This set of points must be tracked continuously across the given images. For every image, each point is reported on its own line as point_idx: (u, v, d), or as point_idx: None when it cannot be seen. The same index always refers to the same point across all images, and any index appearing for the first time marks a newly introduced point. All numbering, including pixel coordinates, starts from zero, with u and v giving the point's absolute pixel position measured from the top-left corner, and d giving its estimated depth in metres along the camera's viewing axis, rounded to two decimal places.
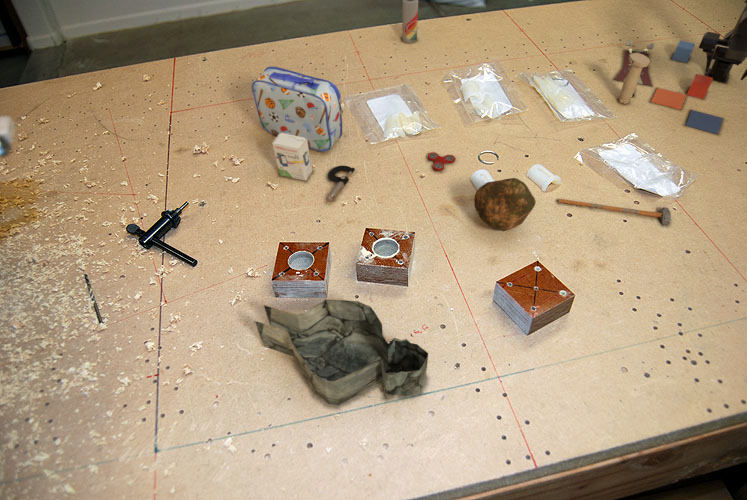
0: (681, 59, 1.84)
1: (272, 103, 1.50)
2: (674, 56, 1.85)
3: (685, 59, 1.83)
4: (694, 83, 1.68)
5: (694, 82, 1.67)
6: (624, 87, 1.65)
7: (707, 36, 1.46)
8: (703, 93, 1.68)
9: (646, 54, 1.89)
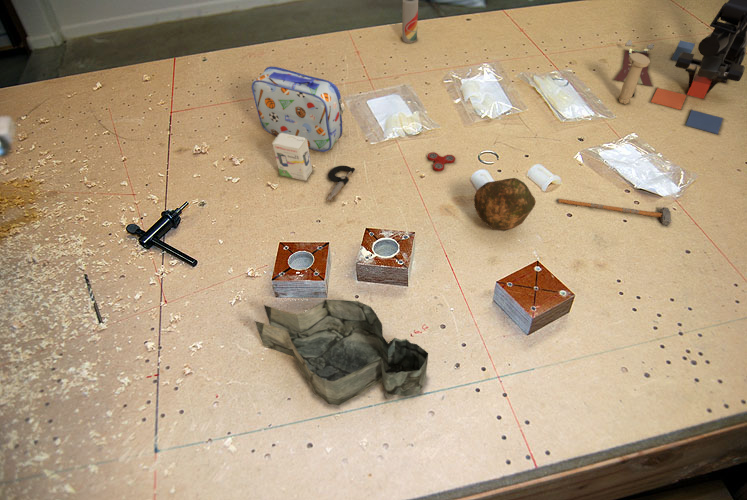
0: None
1: (272, 103, 1.50)
2: (674, 56, 1.85)
3: None
4: (694, 83, 1.68)
5: (694, 82, 1.67)
6: (624, 87, 1.65)
7: (682, 56, 1.66)
8: (703, 93, 1.68)
9: (646, 54, 1.89)
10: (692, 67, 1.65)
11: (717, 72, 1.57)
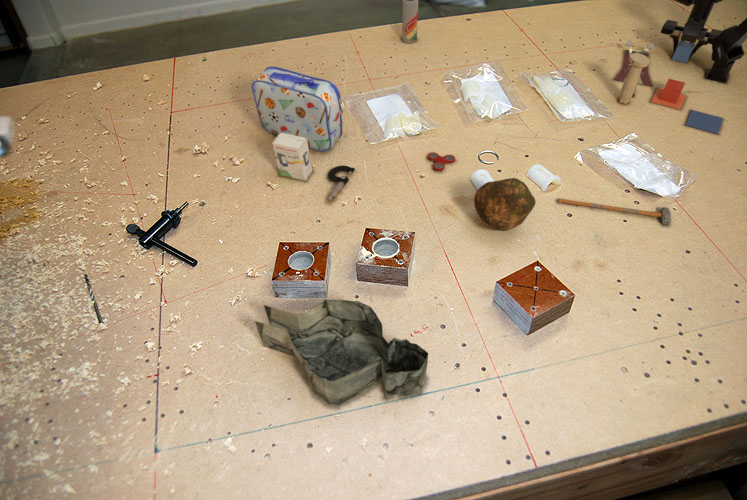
0: (681, 59, 1.84)
1: (272, 103, 1.50)
2: (674, 56, 1.85)
3: (685, 59, 1.83)
4: (666, 88, 1.65)
5: (666, 87, 1.65)
6: (624, 87, 1.65)
7: (667, 23, 1.81)
8: (675, 98, 1.66)
9: (646, 54, 1.89)
10: (676, 33, 1.80)
11: (698, 36, 1.72)
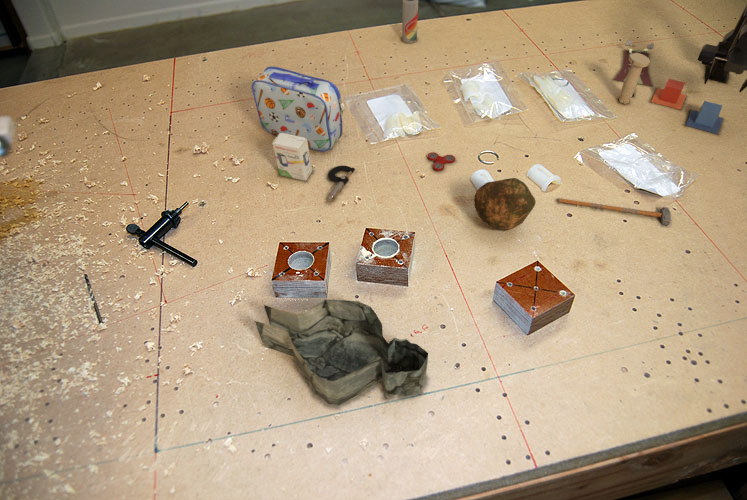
0: (706, 123, 1.58)
1: (272, 103, 1.50)
2: (697, 119, 1.59)
3: (710, 123, 1.58)
4: (666, 88, 1.65)
5: (666, 87, 1.65)
6: (624, 87, 1.65)
7: (706, 49, 1.47)
8: (675, 98, 1.66)
9: (646, 54, 1.89)
10: None
11: None
